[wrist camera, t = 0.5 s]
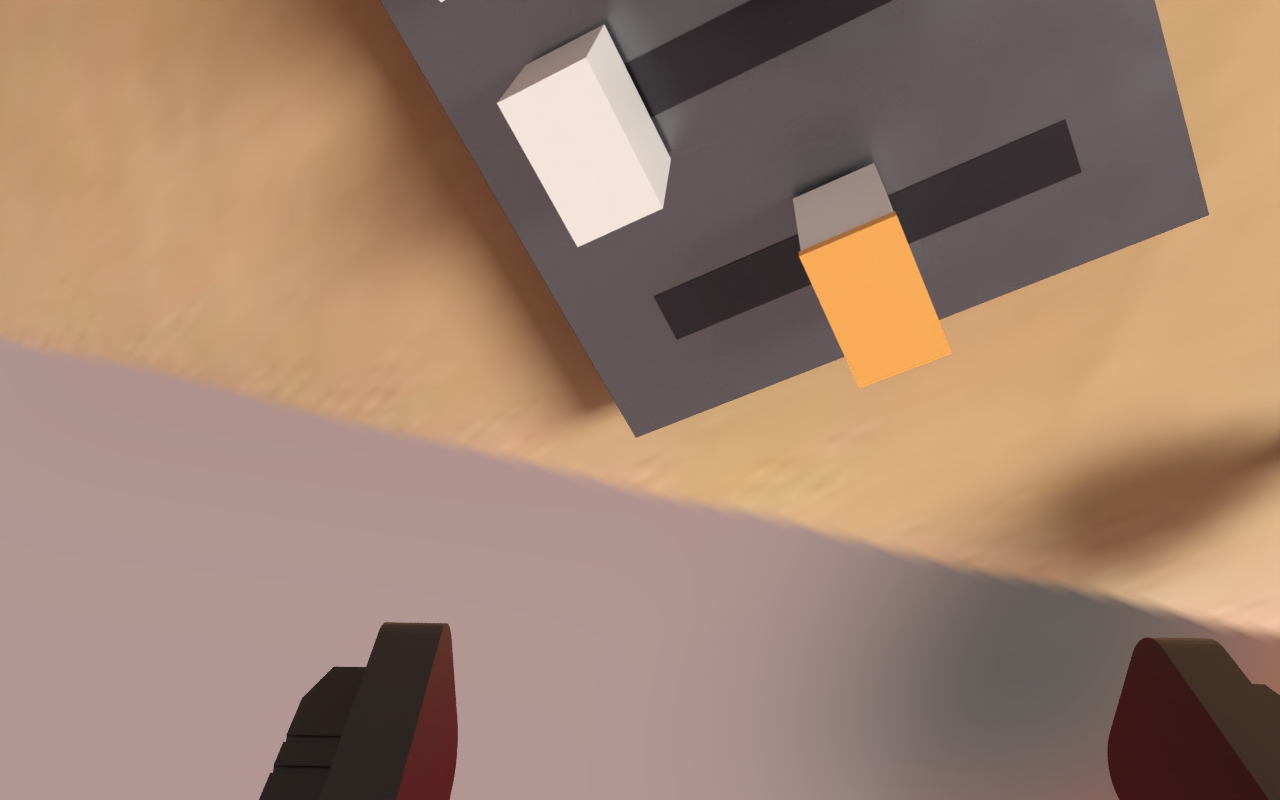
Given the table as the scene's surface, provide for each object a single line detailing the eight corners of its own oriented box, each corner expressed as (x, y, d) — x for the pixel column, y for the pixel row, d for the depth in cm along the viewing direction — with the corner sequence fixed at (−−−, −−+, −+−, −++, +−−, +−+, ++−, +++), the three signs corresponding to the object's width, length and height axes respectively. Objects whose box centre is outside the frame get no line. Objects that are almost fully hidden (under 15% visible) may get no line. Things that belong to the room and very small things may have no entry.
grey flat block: (958, -606, 23) (988, -657, 20) (1169, 180, 32) (1209, 215, 29) (313, -188, 28) (270, -187, 26) (642, 392, 37) (635, 438, 34)
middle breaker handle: (604, 24, 27) (585, 57, 24) (670, 159, 29) (662, 208, 25) (525, 65, 28) (497, 103, 24) (595, 194, 30) (577, 247, 26)
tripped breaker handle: (875, 160, 28) (896, 215, 25) (925, 285, 30) (952, 353, 27) (790, 197, 29) (799, 256, 26) (843, 317, 31) (859, 388, 27)
